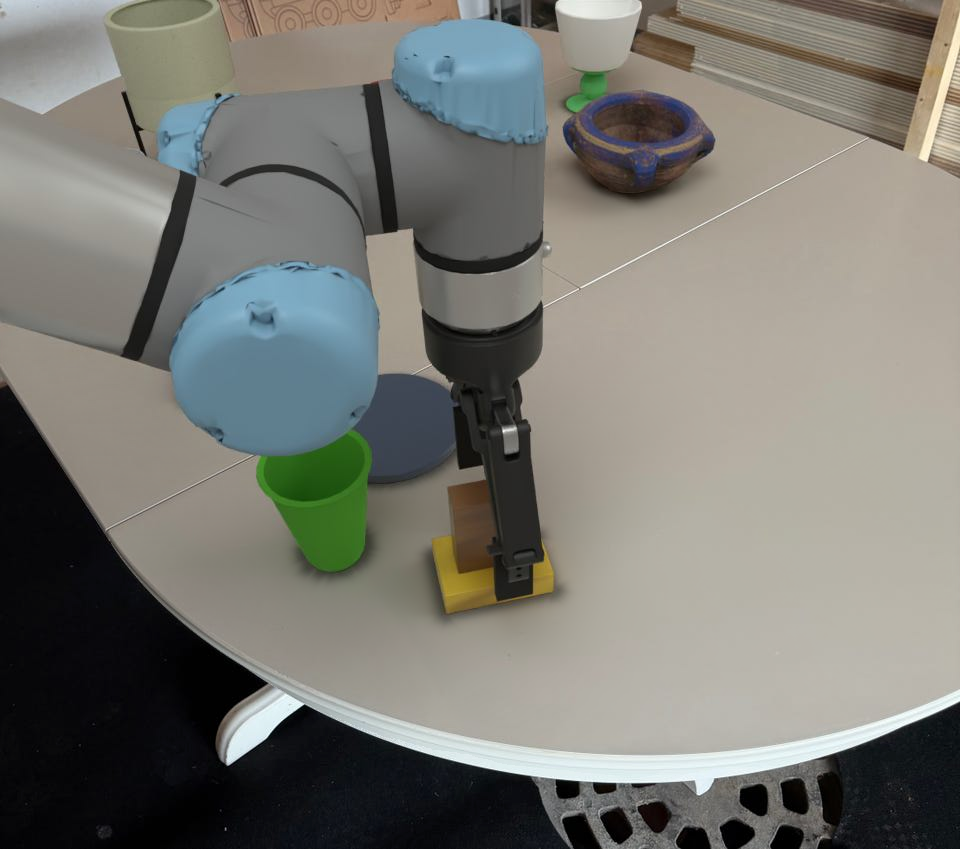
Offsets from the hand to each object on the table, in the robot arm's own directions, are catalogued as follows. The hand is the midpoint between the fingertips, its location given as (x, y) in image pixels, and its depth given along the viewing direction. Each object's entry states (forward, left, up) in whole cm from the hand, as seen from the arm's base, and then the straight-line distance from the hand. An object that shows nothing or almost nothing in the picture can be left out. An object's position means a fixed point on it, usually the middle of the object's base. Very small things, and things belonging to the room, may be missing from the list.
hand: (492, 524), depth 65 cm
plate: (-6, +20, -7) cm, 22 cm away
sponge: (0, 0, -7) cm, 7 cm away
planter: (-25, +84, -7) cm, 88 cm away
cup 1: (-13, +6, -7) cm, 16 cm away
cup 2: (+39, +91, -7) cm, 99 cm away
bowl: (+36, +63, -7) cm, 73 cm away
